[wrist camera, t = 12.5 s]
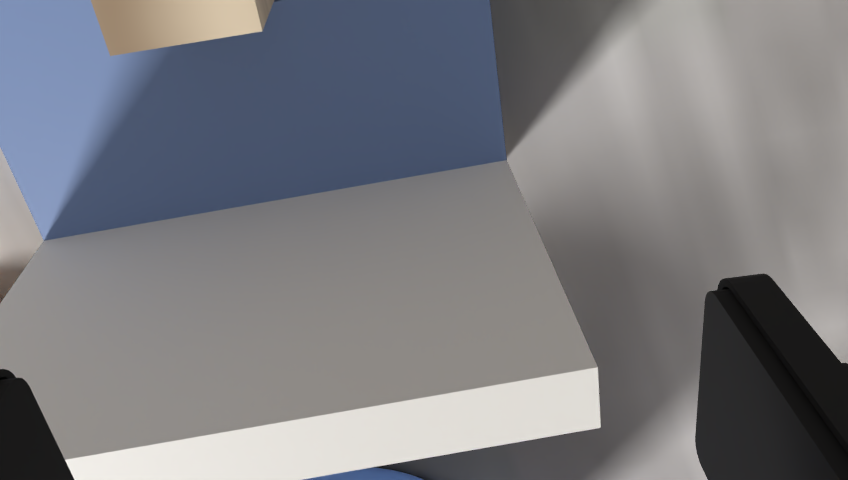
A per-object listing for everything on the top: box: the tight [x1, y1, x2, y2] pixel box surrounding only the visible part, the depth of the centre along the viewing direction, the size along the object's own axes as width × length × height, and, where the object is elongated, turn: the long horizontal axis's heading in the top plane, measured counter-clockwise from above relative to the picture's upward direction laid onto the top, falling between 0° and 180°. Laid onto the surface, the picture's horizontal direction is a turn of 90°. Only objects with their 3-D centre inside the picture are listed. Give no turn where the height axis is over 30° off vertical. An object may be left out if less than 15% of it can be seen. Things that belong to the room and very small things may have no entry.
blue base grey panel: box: [0, 0, 601, 480], centre depth 22 cm, size 18×20×16 cm
